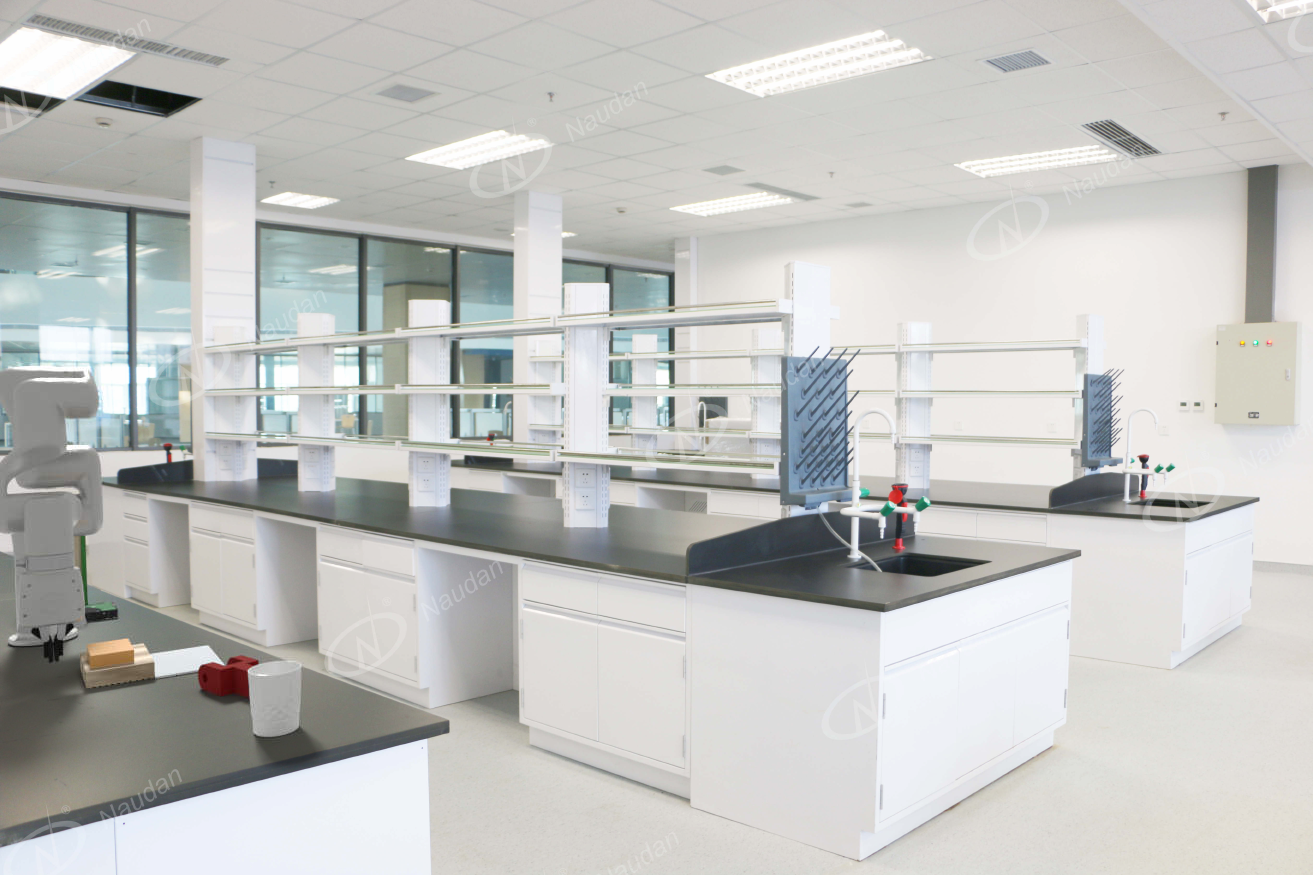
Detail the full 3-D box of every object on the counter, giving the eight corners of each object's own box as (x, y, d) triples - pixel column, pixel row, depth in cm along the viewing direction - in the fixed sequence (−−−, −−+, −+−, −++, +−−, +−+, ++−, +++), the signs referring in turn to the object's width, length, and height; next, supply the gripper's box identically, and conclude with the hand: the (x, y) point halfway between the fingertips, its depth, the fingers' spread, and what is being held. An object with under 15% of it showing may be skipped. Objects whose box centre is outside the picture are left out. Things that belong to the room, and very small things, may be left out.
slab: (86, 655, 174) (86, 644, 174) (128, 649, 179) (128, 638, 178) (90, 667, 166) (90, 655, 166) (134, 661, 170) (133, 649, 170)
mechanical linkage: (198, 689, 164) (197, 662, 164) (236, 679, 170) (235, 652, 169) (245, 706, 154) (244, 677, 154) (283, 695, 160) (282, 667, 160)
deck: (80, 667, 176) (79, 652, 176) (144, 657, 183) (143, 643, 183) (86, 688, 163) (85, 672, 163) (154, 677, 170) (154, 661, 170)
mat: (143, 656, 184) (143, 654, 184) (208, 646, 191) (208, 645, 191) (155, 678, 169) (155, 676, 169) (225, 667, 176) (225, 665, 176)
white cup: (313, 723, 145) (312, 662, 145) (278, 741, 138) (276, 677, 138) (274, 718, 148) (273, 658, 148) (237, 735, 141) (236, 672, 140)
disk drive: (45, 630, 208) (119, 619, 217) (44, 618, 208) (118, 607, 217) (42, 621, 216) (114, 611, 225) (42, 609, 216) (113, 600, 225)
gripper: (0, 570, 159) (4, 672, 160) (99, 561, 168) (102, 658, 168) (0, 564, 165) (4, 663, 166) (95, 555, 174) (99, 649, 174)
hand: (53, 660), depth 167 cm, fingers closed
